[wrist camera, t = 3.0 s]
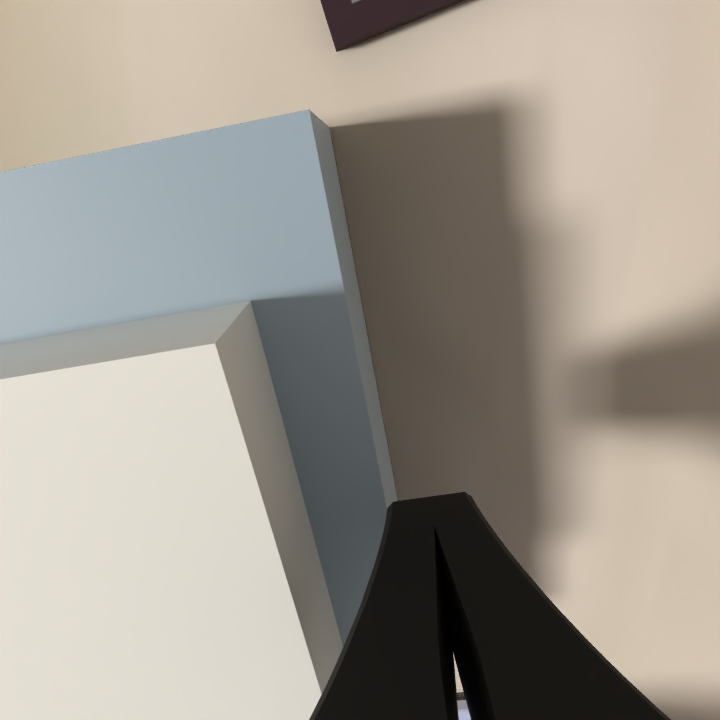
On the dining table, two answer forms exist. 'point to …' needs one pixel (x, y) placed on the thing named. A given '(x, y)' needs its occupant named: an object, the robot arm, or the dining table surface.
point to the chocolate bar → (373, 17)
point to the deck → (223, 292)
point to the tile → (155, 529)
